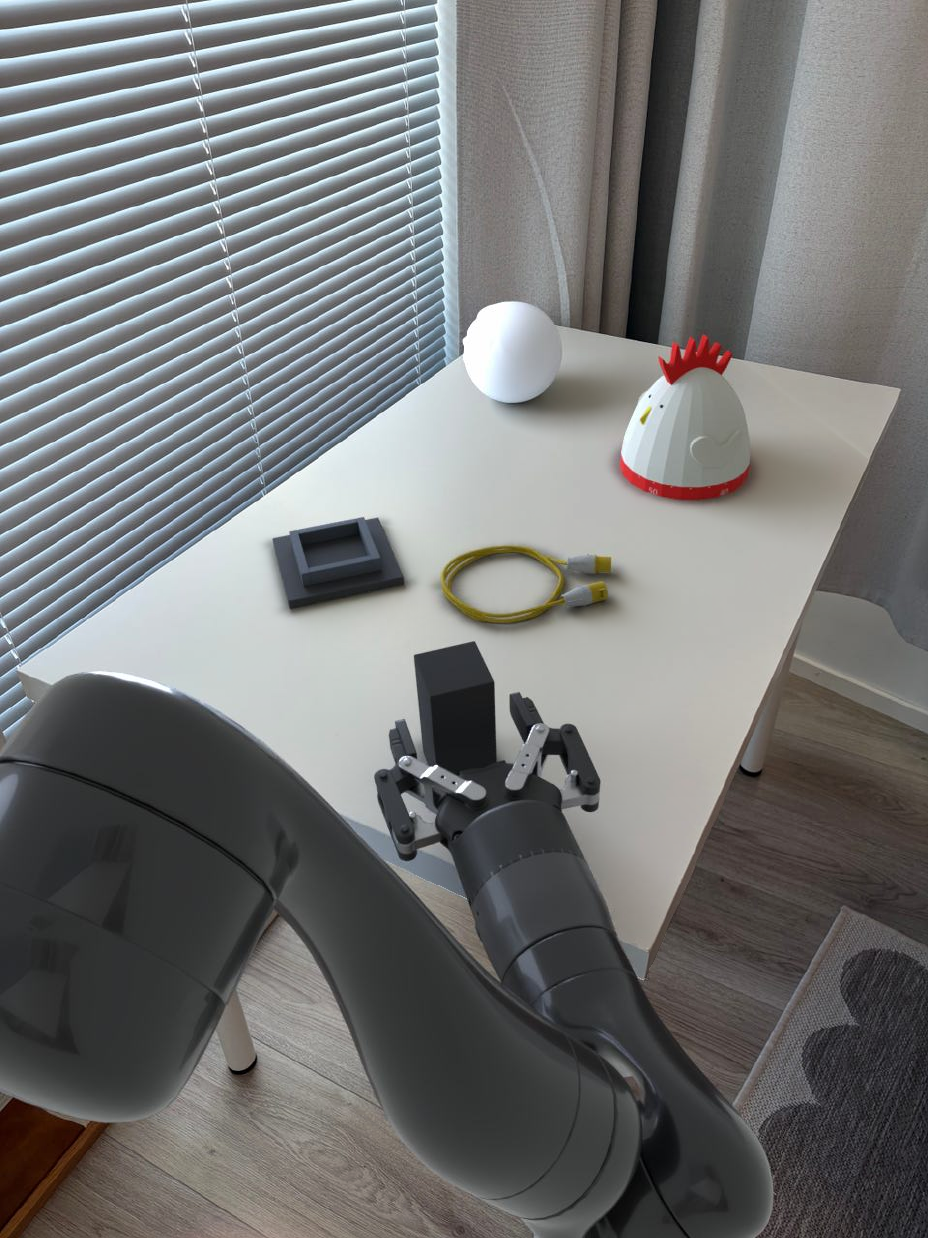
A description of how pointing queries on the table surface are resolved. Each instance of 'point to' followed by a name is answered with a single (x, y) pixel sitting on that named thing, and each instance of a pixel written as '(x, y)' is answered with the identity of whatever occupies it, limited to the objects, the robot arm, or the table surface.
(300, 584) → the base pad
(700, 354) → the kitchen timer
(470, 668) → the tall dark pillar
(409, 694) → the table surface
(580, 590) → the yellow coiled cord
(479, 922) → the robot arm
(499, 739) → the table surface
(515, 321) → the decorative ball
